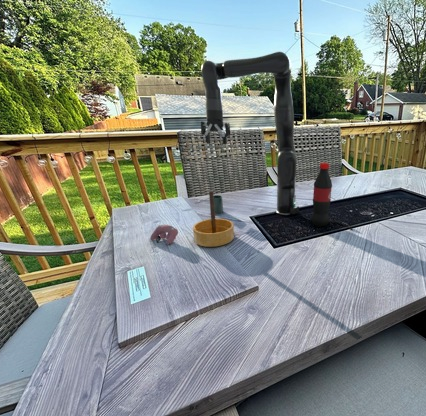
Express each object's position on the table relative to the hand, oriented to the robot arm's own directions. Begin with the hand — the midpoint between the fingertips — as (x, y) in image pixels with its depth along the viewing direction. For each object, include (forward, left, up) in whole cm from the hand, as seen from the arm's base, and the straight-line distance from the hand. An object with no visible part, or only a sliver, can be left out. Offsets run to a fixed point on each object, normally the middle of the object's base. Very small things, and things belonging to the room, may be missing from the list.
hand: (216, 144), depth 130 cm
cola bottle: (-55, +6, -34) cm, 65 cm away
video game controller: (+3, +40, -34) cm, 53 cm away
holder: (-2, +7, -34) cm, 35 cm away
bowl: (-15, +34, -34) cm, 50 cm away
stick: (-15, +34, -34) cm, 50 cm away
